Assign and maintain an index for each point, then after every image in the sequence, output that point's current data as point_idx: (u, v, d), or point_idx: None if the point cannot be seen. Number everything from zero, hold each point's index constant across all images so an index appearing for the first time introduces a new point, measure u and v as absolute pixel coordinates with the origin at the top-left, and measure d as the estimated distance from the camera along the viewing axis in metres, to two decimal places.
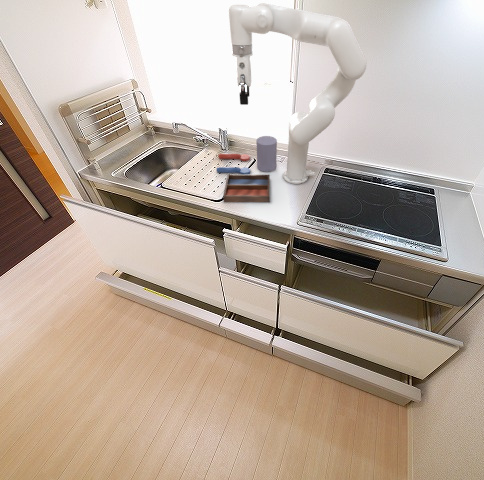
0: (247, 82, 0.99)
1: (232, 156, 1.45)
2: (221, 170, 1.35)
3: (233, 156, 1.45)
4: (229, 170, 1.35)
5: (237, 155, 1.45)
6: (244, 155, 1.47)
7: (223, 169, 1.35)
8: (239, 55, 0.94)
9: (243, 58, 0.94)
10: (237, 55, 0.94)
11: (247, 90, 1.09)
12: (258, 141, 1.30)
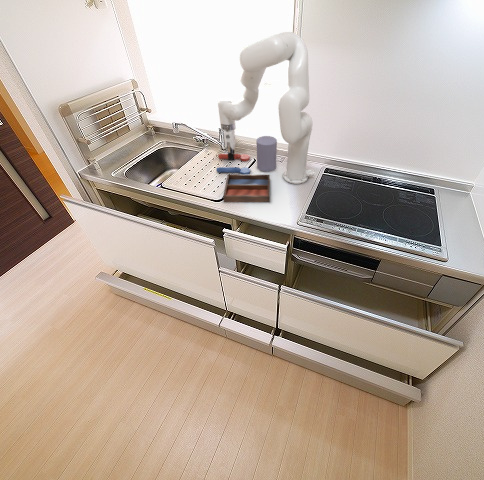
0: (232, 147, 1.37)
1: None
2: (221, 170, 1.35)
3: None
4: (229, 170, 1.35)
5: (237, 155, 1.45)
6: (244, 155, 1.47)
7: (223, 169, 1.35)
8: (225, 130, 1.32)
9: (228, 132, 1.32)
10: (224, 130, 1.32)
11: (233, 153, 1.46)
12: (258, 141, 1.30)
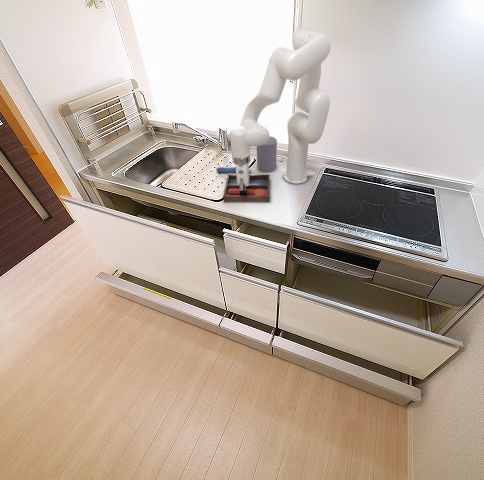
0: (245, 183, 1.12)
1: None
2: (221, 170, 1.35)
3: None
4: (229, 170, 1.35)
5: (250, 191, 1.20)
6: (259, 190, 1.22)
7: (223, 169, 1.35)
8: (238, 164, 1.07)
9: (242, 167, 1.07)
10: (237, 164, 1.07)
11: (245, 187, 1.22)
12: None
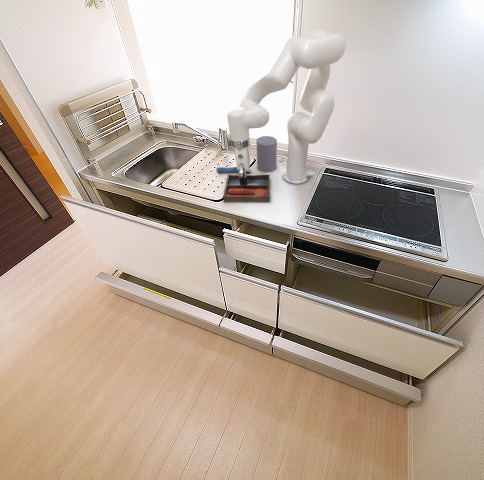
0: (246, 169, 1.07)
1: (244, 192, 1.20)
2: (221, 170, 1.35)
3: (246, 192, 1.20)
4: (229, 170, 1.35)
5: (250, 191, 1.20)
6: (259, 190, 1.22)
7: (223, 169, 1.35)
8: (238, 148, 1.02)
9: (241, 151, 1.02)
10: (236, 148, 1.02)
11: None
12: (258, 141, 1.30)
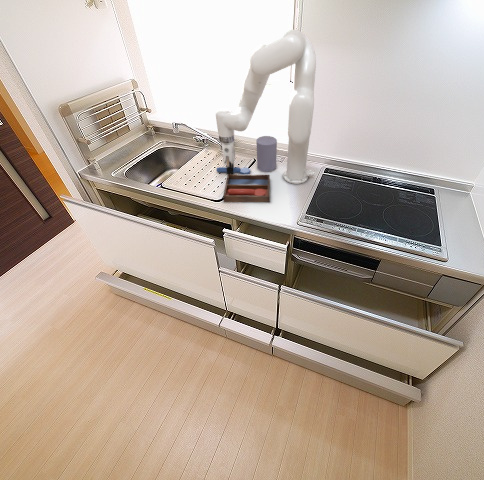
0: (231, 161, 1.27)
1: (244, 192, 1.20)
2: (221, 170, 1.35)
3: (246, 192, 1.20)
4: None
5: (250, 191, 1.20)
6: (259, 190, 1.22)
7: (223, 169, 1.35)
8: (224, 143, 1.22)
9: (227, 145, 1.22)
10: (223, 143, 1.22)
11: (232, 166, 1.36)
12: (258, 141, 1.30)
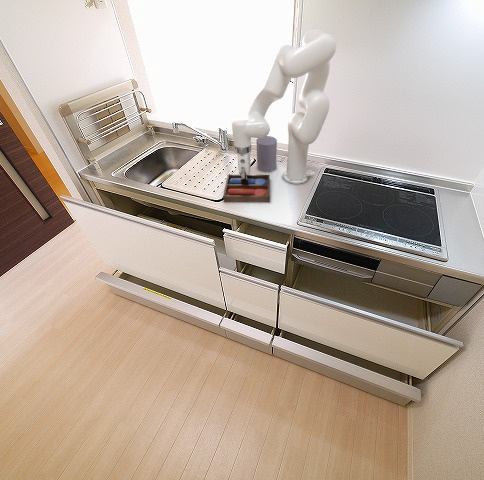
0: (247, 172, 1.18)
1: (244, 192, 1.20)
2: (235, 182, 1.26)
3: (246, 192, 1.20)
4: None
5: (250, 191, 1.20)
6: (259, 190, 1.22)
7: (237, 180, 1.26)
8: (240, 154, 1.13)
9: (243, 156, 1.13)
10: (238, 154, 1.13)
11: (247, 176, 1.28)
12: (258, 141, 1.30)
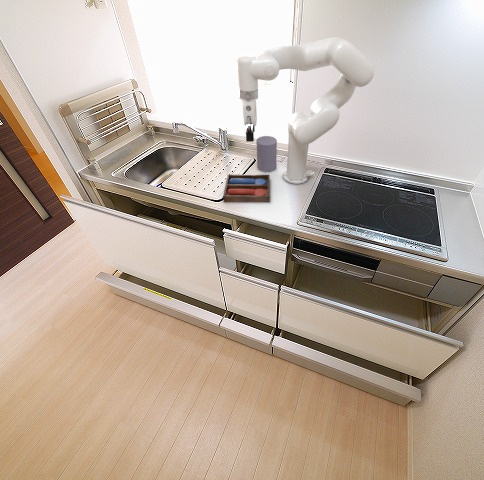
0: (253, 122, 1.06)
1: (244, 192, 1.20)
2: (235, 182, 1.26)
3: (246, 192, 1.20)
4: (243, 182, 1.26)
5: (250, 191, 1.20)
6: (259, 190, 1.22)
7: (237, 180, 1.26)
8: (246, 99, 1.01)
9: (249, 102, 1.01)
10: (244, 99, 1.01)
11: (252, 126, 1.16)
12: (258, 141, 1.30)
